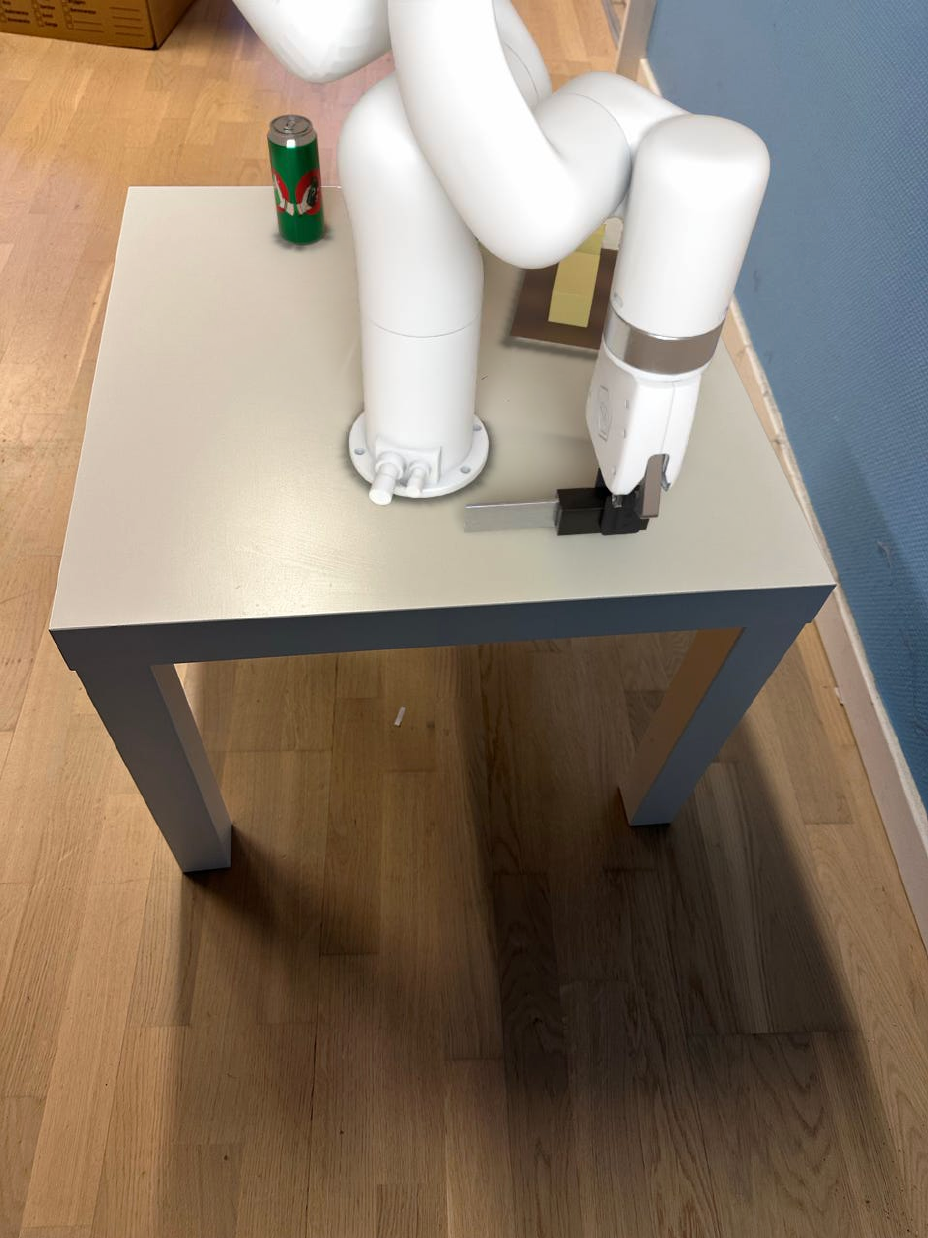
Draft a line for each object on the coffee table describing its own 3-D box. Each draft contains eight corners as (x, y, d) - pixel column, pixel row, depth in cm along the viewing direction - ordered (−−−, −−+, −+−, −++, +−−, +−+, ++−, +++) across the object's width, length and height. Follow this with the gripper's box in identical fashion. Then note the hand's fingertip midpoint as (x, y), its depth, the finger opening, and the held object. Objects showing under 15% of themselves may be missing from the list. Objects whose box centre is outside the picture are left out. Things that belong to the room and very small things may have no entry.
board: (616, 361, 90) (618, 352, 89) (508, 343, 91) (509, 335, 90) (630, 260, 100) (632, 252, 99) (533, 245, 101) (534, 237, 100)
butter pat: (598, 263, 98) (603, 233, 95) (562, 257, 98) (566, 227, 95) (599, 253, 99) (605, 223, 96) (564, 247, 99) (568, 217, 96)
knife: (465, 542, 72) (467, 516, 70) (462, 520, 73) (463, 494, 71) (646, 530, 74) (654, 505, 71) (639, 508, 75) (646, 483, 73)
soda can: (329, 224, 101) (320, 114, 91) (320, 249, 98) (310, 139, 89) (285, 220, 101) (271, 109, 92) (275, 245, 98) (260, 134, 89)
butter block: (586, 327, 91) (592, 297, 88) (548, 321, 91) (552, 291, 89) (594, 285, 95) (600, 255, 93) (557, 279, 96) (562, 249, 93)
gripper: (581, 259, 63) (552, 452, 78) (635, 412, 54) (590, 598, 69) (684, 255, 64) (635, 447, 79) (755, 405, 54) (684, 590, 69)
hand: (615, 516), depth 74 cm, fingers closed on knife, 2 cm apart
